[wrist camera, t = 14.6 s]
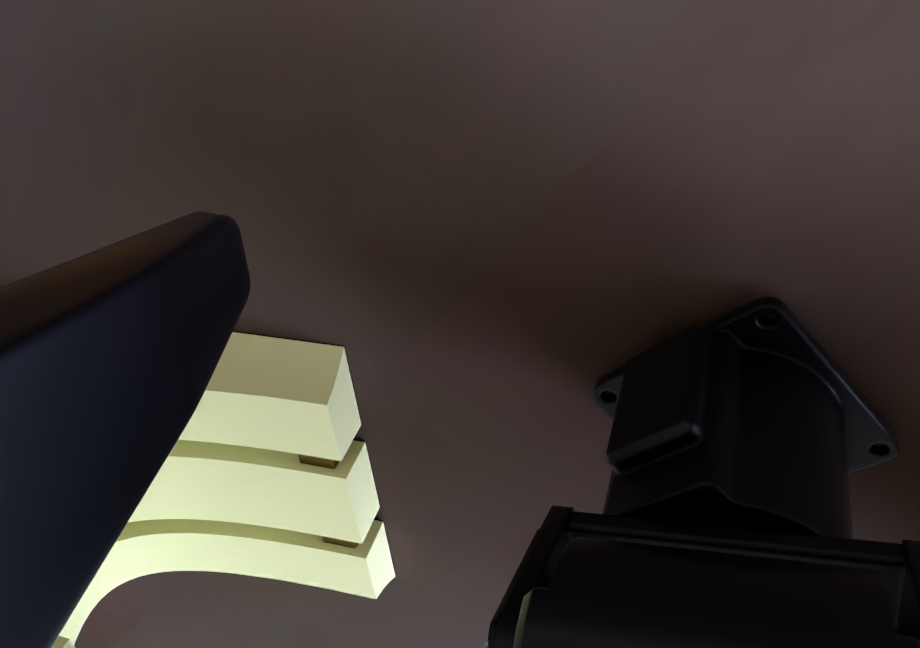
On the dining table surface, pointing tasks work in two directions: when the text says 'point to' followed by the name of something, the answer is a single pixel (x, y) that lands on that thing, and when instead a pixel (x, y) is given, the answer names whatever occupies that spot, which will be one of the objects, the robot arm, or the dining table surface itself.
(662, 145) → the dining table surface
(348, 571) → the slatted curved stool
